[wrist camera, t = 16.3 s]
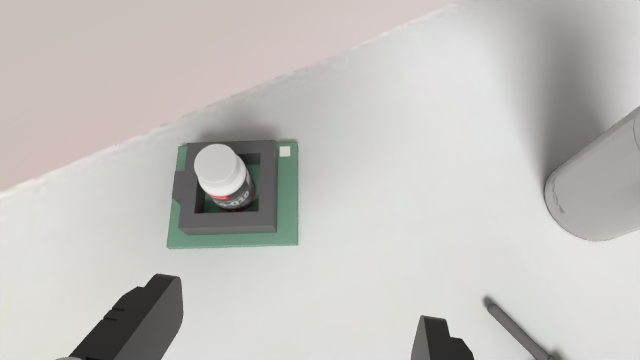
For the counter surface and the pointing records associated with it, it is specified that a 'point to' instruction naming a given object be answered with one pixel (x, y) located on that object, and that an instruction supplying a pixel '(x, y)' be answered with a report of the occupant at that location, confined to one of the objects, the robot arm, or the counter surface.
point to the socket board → (249, 225)
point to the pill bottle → (225, 178)
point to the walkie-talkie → (517, 333)
